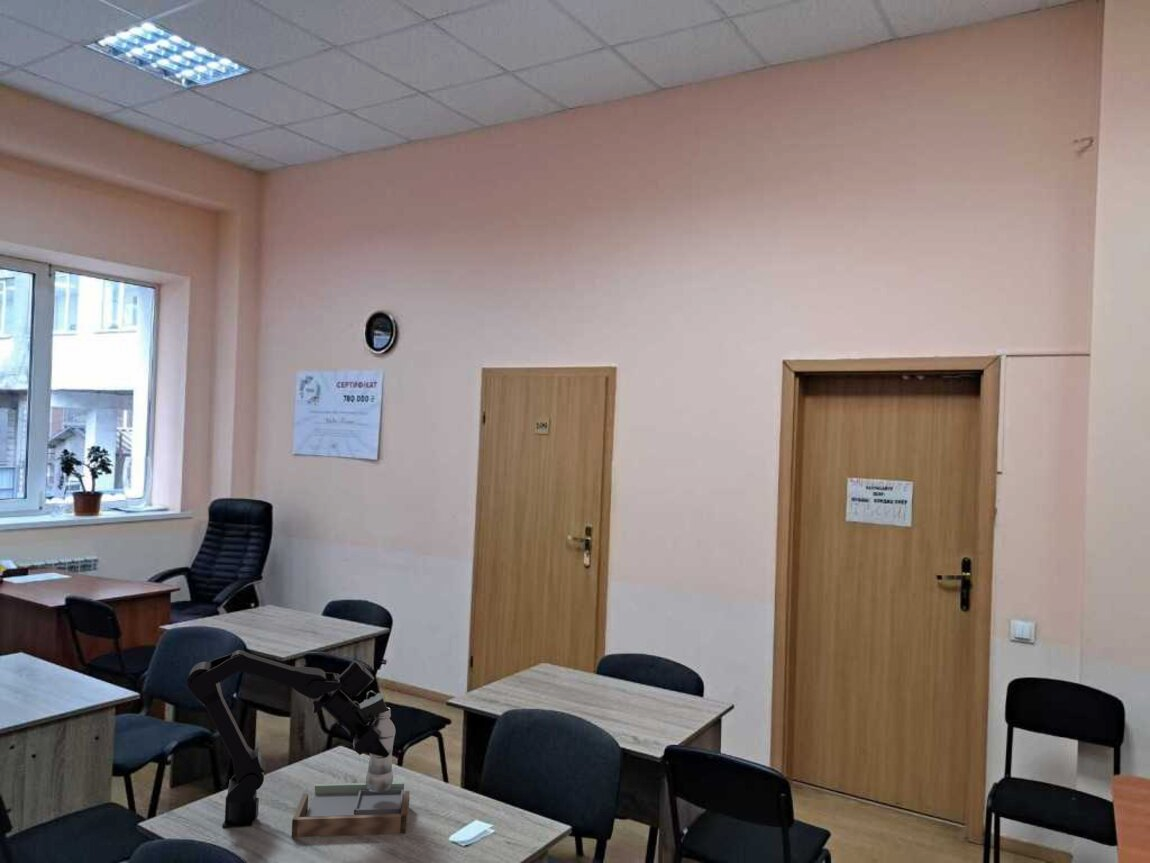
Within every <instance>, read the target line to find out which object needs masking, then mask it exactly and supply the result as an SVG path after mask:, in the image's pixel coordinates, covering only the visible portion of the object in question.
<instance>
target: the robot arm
mask: <svg viewBox="0 0 1150 863" xmlns="http://www.w3.org/2000/svg"><path fill="white" fill-rule="evenodd" d="M238 672H240V673H241V672H242V673H245V674H248V675H252V676H254V677H255V676H256V677H258V678H263V679H265V680H269V681H273V682H276V683H279V684H282V685H286V686H287V687H289V688H291V689H293V690H294V691H295V692H297V693H298V694H301V695H303V696H305V697H307V698H309V699H312V704H313V706H312V711H313V713H314V714H317V713H318V711H320V709H323V710H324V711H325V712H326V713H327V714H328V715H329V716H331V718H332V719H333V720H335V722H336V724H337V726H338V727H340V728H343V729H344V730H345V731H346V732H347V733H348V736H349V737H350V738H351V739H353V740H352V741H353V742H352V746H353V750H354V751H355V753H357V755H359V756H361V755H362V754H363V753H366V754H367V753H368V754H370V753H371V754H375V755H378V756H382V757H388V756H389V753H388V751H387V750H386V748H385V747H384V745H383V744H382V743H381V741H380V740H379V730H378V729H376V728H375V727H374V726H373V725H372V723H373V722H374V721H375V719H376V718H375V715H376V714H378V713H380V712H384V711H385V710H387V707H388V706H387V704H386V702H385V699H384V696H383V695H382V693H380V692H375V691H374V690H369V691H367V692H366V698H365V699H364V700H363V701H362V702H359V701H357V700H352V699H351V698H350V697H358V696H359V695H360V694H361V693H362V692H363V691H364V690H365V689H366V688H367V687H368V686H369V685H370V684H372V683H373V681H374V680H375V676H374V675H373V674H372V673H371V671H369V670H368V669H367V668H366V667H365V665H362V664H360V663H359V662H357V660H353V661H352V662H351V663H350V664H349V666H348V667H346V669H344V671H343V672H342V673H337V672H329V671H328V672H326V671H324V670H323V669H322V668H318V667H309V666H292V665H289V664H285V663H283V662H279V661H275V660H273V659H269V658H266V657H262V656H259V655H255V654H252V653H249V652H247V651H245V650H242V649H238V650H235V651H233V652H232V653H229V654H226V655H224V656H220V657H217V658H214V659H212V660H210V661H201V662H198V663H196V664H195V665H194V666H193V667H192V668H191V670H190V672H189V674H188V678H187V680H186V685H187V688H188V690H189V692H191V694H192V695H193V696H194V698H195V699H196V700H197V702H199V703H200V704H202V706H204V707H205V708H206V710H207V713H208V715H209V716H210V719H211V720H212V723H213V724H214V726H215V728H216V730H217V733H218V735H219V736H220V738H221V741H222V742H223V744H224V746H225V748H226V751H227V752H228V754H229V756H230V758H231V760H232V767H233V772H234V775H233V776H232V777H231V778H230V779H229V781H228V782H229V783H228V787H227V794H226V797H225V807H224V808H225V810H224V821H223V823H222V826H221V827H222V828H233V827H235V828H236V827H237V828H239V827H241V828H242V827H252V825H253V824H254V822H255V821H256V819H257V817H258V816H259V807H260V806H259V805H260V804H259V803H260V800H259V799H260V798H259V797H258V796H257V795H258V793H257V791H258V790H259V789H260V788H261V787H262V786H263V784H264V781H265V772H266V762H267V761H266V759H264V757H263V756H262V754H261V750H260V747H256V748H255V749H254V750H253V748H251V747H250V746H249V745H248V744H247V741H246V740H245V737H244V736H243V733H242V731H241V730H240V728H239V725H238V724H237V721H236V720H235V718H234V715H233V714H232V711H231V710H230V708H229V705H228V704H227V702H226V699H225V698H224V695H223V692H222V687H221V683H222V681H224V680H226V679H227V678H229V677H230V676H233V675H234V674H236V673H238ZM342 690H343V691H344V692H343V691H342Z"/></svg>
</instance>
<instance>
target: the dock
mask: <svg viewBox="0 0 1150 863" xmlns="http://www.w3.org/2000/svg"><path fill="white" fill-rule="evenodd" d="M409 806H410V791H409V790H404V795H403V802H402V809H401V814H386V815H353V816H319V817H306V815H307V812H308V810H309V793H302V796H301V798H300V801H299V803H298V805H297V808H296V810H295V813H294V815H293V817H292V819H291V838H311V837H313V836H319V837H342V836H346V837H347V836H348V837H349V836H369V835H370V836H374V835H375V836H376V835H377V836H378V835H403V834H404V835H405V834H406V832H407V824H408V816H409V810H408V809H409V808H410V807H409ZM309 836H310V837H309Z"/></svg>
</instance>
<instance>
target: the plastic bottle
mask: <svg viewBox="0 0 1150 863" xmlns="http://www.w3.org/2000/svg"><path fill="white" fill-rule="evenodd" d="M386 707H387V710H385V711H384V712H380V713H378V714H376V715H374V716H375V721H374V722H373V723H372V725H373V726H374V727H375V728H376V729H378V730H379V740H380V741H381V743H382V744H383V745H384V747H385V748H386V750H387V751H388V753H389V756H388V757H382V756H378V755H375V754H371V753H369V761H368V767H367V772H366V776H365V783H366V786H367V788H368V790H370V791H372V792H384V791H387V790H388V789H389V788H390V787H391V786H392V782H394V773H393V772H394V771H393V763H392V762H393V760H392V759H393V758H392V757H393V747H394V742H395V736H396V727H395V724H394V723H393V721H392V720H391V719H390V718H391V716H392V713H391V708H390V707H388V706H386Z"/></svg>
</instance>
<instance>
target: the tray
mask: <svg viewBox="0 0 1150 863" xmlns="http://www.w3.org/2000/svg"><path fill="white" fill-rule="evenodd" d="M404 791H405V781H399V782H398V781H396V782H395V781H393V782H392V786H391V787H390V788H389V789H388V790H387V791H384V792H372V791H370V790H368V788H367V786H366V782H357V783H356V782H353V783H352V782H351V783H349V782H347V783H316V784H314V794H313V797H312V799H311V803H310V805H309V806H308V810H307V813H306V815H305V817H319V816H353V815H386V814H401V812H402V805H403V798H404Z"/></svg>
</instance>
